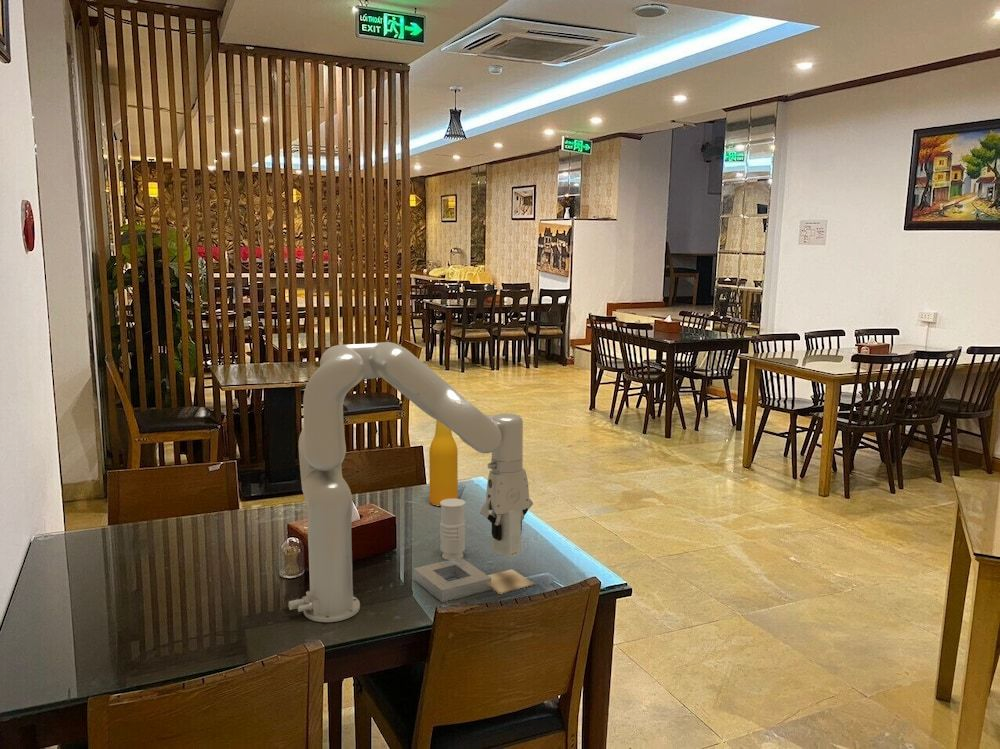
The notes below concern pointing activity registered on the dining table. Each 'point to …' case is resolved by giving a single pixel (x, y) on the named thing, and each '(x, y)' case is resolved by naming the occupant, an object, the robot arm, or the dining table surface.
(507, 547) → the skincare box
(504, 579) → the wooden coaster
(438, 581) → the white rectangular frame
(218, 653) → the dining table surface
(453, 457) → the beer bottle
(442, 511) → the white ribbed canister
